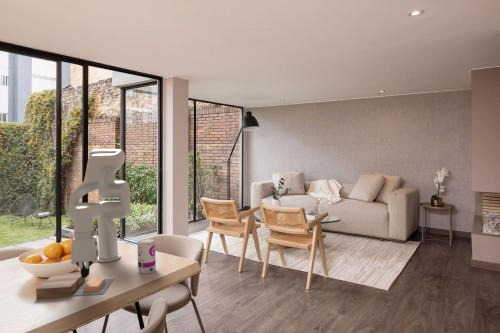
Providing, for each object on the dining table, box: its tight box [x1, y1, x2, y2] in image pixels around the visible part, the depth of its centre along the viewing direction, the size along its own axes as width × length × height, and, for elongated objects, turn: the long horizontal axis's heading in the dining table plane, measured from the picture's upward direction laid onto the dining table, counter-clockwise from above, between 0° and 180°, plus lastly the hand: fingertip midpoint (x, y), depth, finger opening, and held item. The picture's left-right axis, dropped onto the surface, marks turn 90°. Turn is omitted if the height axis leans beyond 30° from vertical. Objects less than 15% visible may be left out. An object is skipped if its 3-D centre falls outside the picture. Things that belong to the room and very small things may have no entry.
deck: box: [35, 271, 86, 299], centre depth 141 cm, size 16×13×4 cm
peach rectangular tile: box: [83, 277, 106, 292], centre depth 142 cm, size 9×6×2 cm, turn 7°
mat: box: [71, 278, 115, 297], centre depth 143 cm, size 16×12×1 cm
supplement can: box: [137, 238, 157, 275], centre depth 161 cm, size 8×8×15 cm
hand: (85, 276), depth 142 cm, fingers closed
